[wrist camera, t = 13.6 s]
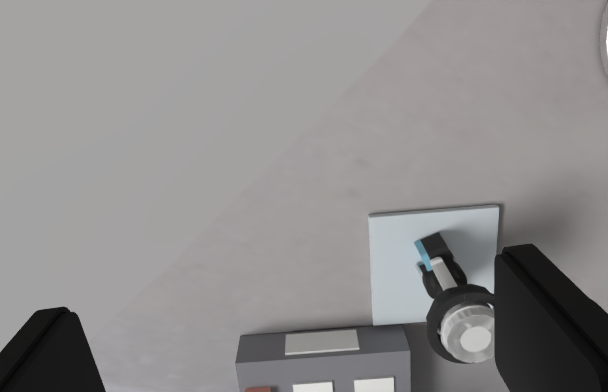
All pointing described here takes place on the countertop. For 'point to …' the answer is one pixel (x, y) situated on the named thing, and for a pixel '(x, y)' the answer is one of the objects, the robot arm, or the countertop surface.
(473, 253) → the pale blue mat
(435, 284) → the push button
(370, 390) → the power strip
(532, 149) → the countertop surface
